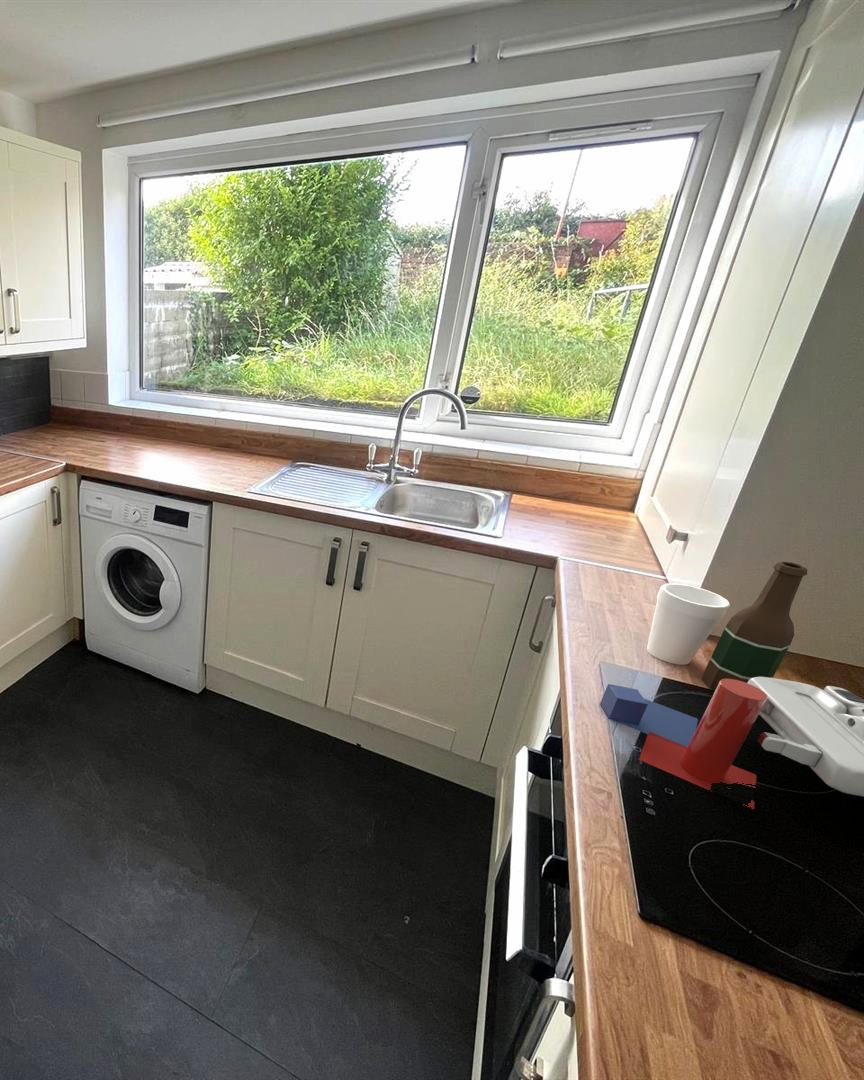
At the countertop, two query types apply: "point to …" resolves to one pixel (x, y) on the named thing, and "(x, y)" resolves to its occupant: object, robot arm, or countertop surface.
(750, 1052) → the countertop surface
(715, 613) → the foam cup
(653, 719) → the blue mat
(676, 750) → the red mat
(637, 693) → the blue block
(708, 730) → the red canister
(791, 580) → the beer bottle
